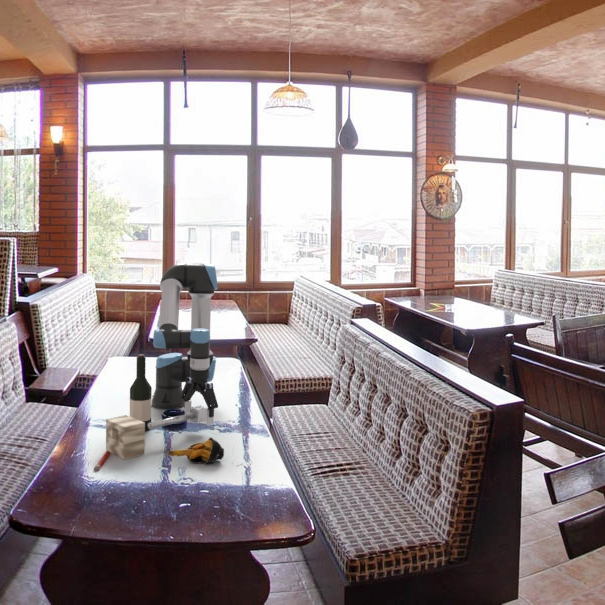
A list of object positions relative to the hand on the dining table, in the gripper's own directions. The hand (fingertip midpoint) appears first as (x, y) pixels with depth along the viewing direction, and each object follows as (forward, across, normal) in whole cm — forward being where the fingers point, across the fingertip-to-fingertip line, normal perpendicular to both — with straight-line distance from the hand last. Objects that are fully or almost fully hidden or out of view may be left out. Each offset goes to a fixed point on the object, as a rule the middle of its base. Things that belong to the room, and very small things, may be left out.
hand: (198, 421), depth 245 cm
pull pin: (0, 0, -10) cm, 10 cm away
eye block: (+5, 0, -33) cm, 33 cm away
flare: (+5, +3, -44) cm, 44 cm away
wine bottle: (+5, -19, -14) cm, 24 cm away
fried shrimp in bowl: (+5, +24, -20) cm, 32 cm away
